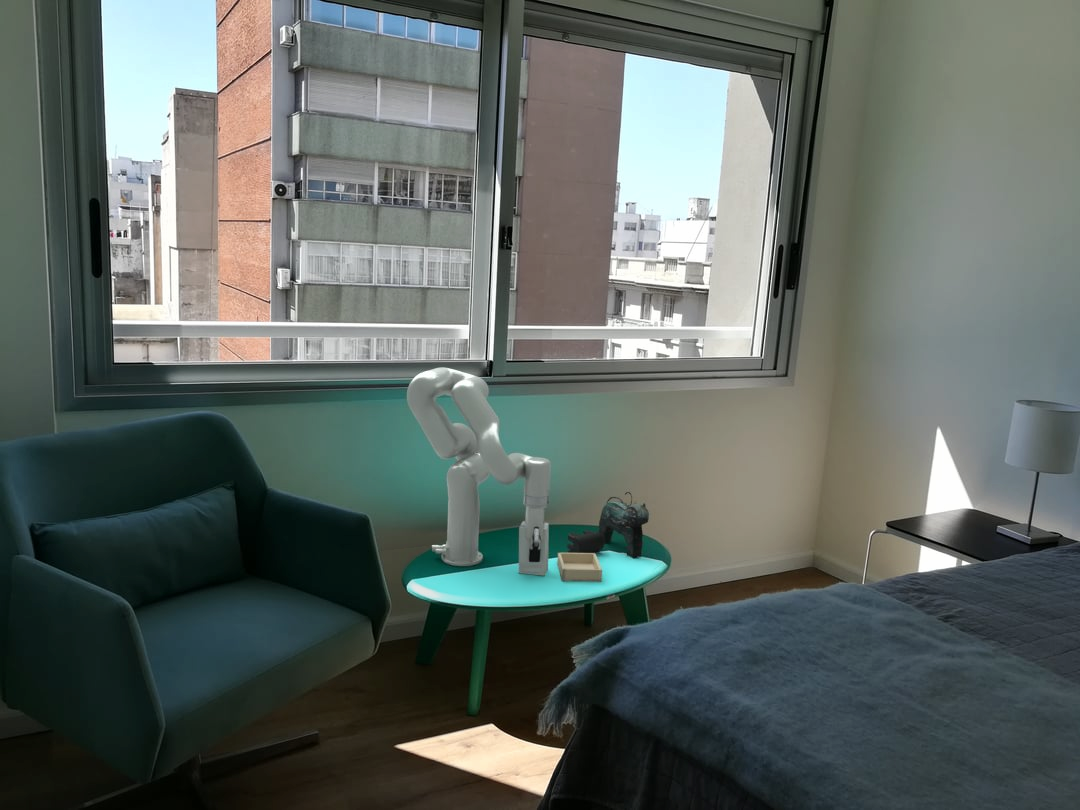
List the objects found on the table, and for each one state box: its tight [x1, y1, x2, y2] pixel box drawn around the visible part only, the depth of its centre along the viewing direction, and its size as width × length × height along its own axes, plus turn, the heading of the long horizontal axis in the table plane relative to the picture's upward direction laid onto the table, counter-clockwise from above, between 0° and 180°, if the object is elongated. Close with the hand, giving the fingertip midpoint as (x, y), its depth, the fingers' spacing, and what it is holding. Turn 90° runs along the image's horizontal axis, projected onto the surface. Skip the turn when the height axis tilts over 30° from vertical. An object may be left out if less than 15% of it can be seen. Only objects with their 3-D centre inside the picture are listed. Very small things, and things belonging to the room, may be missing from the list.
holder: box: [556, 552, 603, 583], centre depth 257 cm, size 12×14×4 cm
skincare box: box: [518, 520, 550, 576], centre depth 255 cm, size 8×6×15 cm
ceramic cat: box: [598, 491, 650, 559], centre depth 277 cm, size 20×6×20 cm, turn 35°
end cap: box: [566, 529, 605, 554], centre depth 273 cm, size 10×7×7 cm
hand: (533, 556), depth 255 cm, fingers closed on skincare box, 6 cm apart
